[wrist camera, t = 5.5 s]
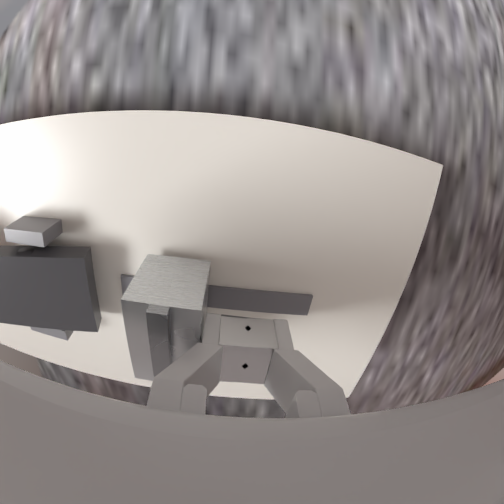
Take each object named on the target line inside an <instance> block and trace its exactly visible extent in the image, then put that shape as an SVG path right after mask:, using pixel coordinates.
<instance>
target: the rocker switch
mask: <svg viewBox="0 0 504 504" xmlns="http://www.w3.org/2000/svg"><path fill="white" fill-rule="evenodd" d="M101 319H102V317H101V312H100V307H99V301H98V296H97V290H96V284H95V277H94V270H93V263H92V255H91V247H83V246H45V247H38V246H3V245H0V323H6V324H13V325H21V326H29V327H38V328H48V329H59V330H71V331H85V332H98V331H99V327H100V323H101Z"/></svg>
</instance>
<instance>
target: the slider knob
mask: <svg viewBox="0 0 504 504" xmlns="http://www.w3.org/2000/svg"><path fill="white" fill-rule="evenodd" d="M210 264H211V261H208V260H199V259H190V258H181V257H172V256H163V255H154V254H148V255H147V256H146V258H145V259H144V261H143V263H142V264H141V266H140V267H139V269H138V271H137V272H136V274H135V276H134V277H133V279H132V281H131V282H130V284H129V286H128V288H127V289H126V291H125V293H124V294H123V296H122V298H121V306H122V313H123V319H124V325H125V331H126V337H127V342H128V348H129V353H130V358H131V363H132V367H133V372H134V376H135V378H138V379H144V380H149V381H153V379H154V377H155V376H156V375H158V374H159V373H160V372H162V371H163V370H164V369H165V368H167V367H168V366H169V365H170V364H172V363H173V362H174V361H175V360H177V359H178V358H179V357H181V356H182V355H183V354H184V353H186V352H187V351H188V350H189V349H191V348H192V347H193V346H194V345H195V344H197V343H202V338H203V331H204V324H205V317H206V313H207V306H208V291H209V277H210Z"/></svg>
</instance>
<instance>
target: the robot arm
mask: <svg viewBox="0 0 504 504" xmlns="http://www.w3.org/2000/svg"><path fill="white" fill-rule="evenodd" d="M220 381H222V382H241V383H253V384H264V386H265V387H266V388H267V390H268V391H269V392H270V394H271V395H272V396H273V398H274V399H275V400H276V401H277V403H278V404H279V405H280V407H281V408H282V409H283V410H284V412H285V413H286V416H285V418H246V417H228V416H216V415H206V398H207V397H208V396H209V394H210V393H211V392H212V391H213V390H214V388H215V387H216V386H217V385H218V384H219V382H220ZM0 504H504V379H502V380H500V381H497V382H494V383H492V384H489V385H486V386H483V387H480V388H477V389H474V390H471V391H467V392H464V393H461V394H457V395H454V396H450V397H446V398H442V399H438V400H434V401H430V402H425V403H421V404H416V405H411V406H406V407H401V408H395V409H389V410H383V411H376V412H368V413H360V414H351V413H350V410H349V407H348V404H347V401H346V397H345V394H344V391H343V388H341V387H340V386H339V385H338V384H337V383H336V382H334V381H333V380H332V379H331V378H330V377H328V376H327V375H326V374H325V373H324V372H323V371H321V370H320V369H319V368H318V367H317V366H316V365H315V364H313V363H312V362H311V361H310V360H309V359H308V358H307V357H305V356H304V355H303V354H302V353H301V352H300V351H299V350H294V347H293V342H292V338H291V333H290V329H289V324H288V321H287V320H286V319H261V318H249V317H240V316H232V315H223V314H221V315H220V314H214V313H206V317H205V324H204V331H203V338H202V343H197V344H195V345H194V346H193V347H192V348H191V349H189V350H188V351H187V352H186V353H184V354H183V355H182V356H181V357H179V358H178V359H177V360H175V361H174V362H173V363H172V364H170V365H169V366H168V367H167V368H165V369H164V370H163V371H162V372H160V373H159V374H158V375H156V376H155V377H154V379H153V382H152V386H151V390H150V394H149V398H148V402H147V406H144V405H139V404H134V403H129V402H124V401H120V400H116V399H112V398H108V397H104V396H100V395H96V394H92V393H89V392H85V391H82V390H78V389H75V388H72V387H69V386H66V385H63V384H60V383H57V382H54V381H51V380H48V379H45V378H43V377H40V376H37V375H35V374H32V373H30V372H27V371H25V370H22V369H20V368H17V367H15V366H13V365H10V364H8V363H6V362H4V361H2V360H0Z"/></svg>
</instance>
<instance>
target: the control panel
mask: <svg viewBox="0 0 504 504" xmlns="http://www.w3.org/2000/svg"><path fill="white" fill-rule="evenodd" d="M442 168H443V165H441V164H439V163H436V162H433V161H431V160H428V159H425V158H422V157H419V156H416V155H413V154H410V153H407V152H404V151H401V150H398V149H395V148H392V147H388V146H385V145H382V144H378V143H375V142H371V141H367V140H364V139H360V138H356V137H352V136H348V135H344V134H340V133H335V132H331V131H327V130H322V129H317V128H312V127H307V126H302V125H297V124H291V123H285V122H279V121H273V120H266V119H259V118H252V117H244V116H235V115H226V114H215V113H202V112H186V111H159V110H127V111H100V112H85V113H73V114H63V115H55V116H47V117H40V118H33V119H27V120H21V121H15V122H10V123H5V124H0V245H3V246H38V247H45V246H83V247H91V255H92V263H93V270H94V277H95V284H96V290H97V296H98V301H99V307H100V312H101V317H102V319H101V323H100V327H99V331H98V332H85V331H71V330H59V329H48V328H38V327H29V326H21V325H13V324H6V323H0V343H2V344H4V345H6V346H9V347H11V348H13V349H16V350H19V351H21V352H24V353H27V354H29V355H32V356H34V357H37V358H40V359H43V360H46V361H49V362H52V363H55V364H58V365H61V366H64V367H68V368H71V369H74V370H78V371H81V372H85V373H89V374H92V375H96V376H100V377H104V378H108V379H113V380H117V381H121V382H126V383H131V384H136V385H141V386H146V387H151V386H152V382H153V381H149V380H144V379H138V378H135V376H134V372H133V367H132V363H131V358H130V353H129V348H128V342H127V337H126V331H125V325H124V319H123V313H122V306H121V298H122V296H123V294H124V293H125V291H126V289H127V288H128V286H129V284H130V282H131V281H132V279H133V277H134V276H135V274H136V272H137V271H138V269H139V267H140V266H141V264H142V263H143V261H144V259H145V258H146V256H147V255H148V254H154V255H163V256H172V257H181V258H190V259H199V260H208V261H211V264H210V277H209V291H208V306H207V313H214V314H220V315H221V314H223V315H232V316H240V317H249V318H261V319H286V320H287V321H288V324H289V329H290V333H291V338H292V342H293V347H294V350H299V351H300V352H301V353H302V354H303V355H304V356H305V357H307V358H308V359H309V360H310V361H311V362H312V363H313V364H315V365H316V366H317V367H318V368H319V369H320V370H321V371H323V372H324V373H325V374H326V375H327V376H328V377H330V378H331V379H332V380H333V381H334V382H336V383H337V384H338V385H339V386H340V387H341V388H343V391H344V394H345V397H346V398H347V397H349V396H350V394H351V393H352V391H353V389H354V388H355V386H356V384H357V382H358V381H359V379H360V377H361V376H362V374H363V372H364V370H365V368H366V367H367V365H368V363H369V361H370V359H371V358H372V356H373V354H374V352H375V350H376V348H377V346H378V344H379V342H380V340H381V338H382V336H383V334H384V332H385V330H386V328H387V326H388V324H389V322H390V320H391V317H392V315H393V313H394V311H395V309H396V306H397V304H398V302H399V300H400V297H401V295H402V293H403V290H404V288H405V285H406V283H407V280H408V278H409V275H410V273H411V270H412V268H413V265H414V262H415V260H416V257H417V254H418V251H419V248H420V246H421V243H422V240H423V237H424V234H425V231H426V227H427V224H428V221H429V218H430V214H431V211H432V207H433V204H434V200H435V197H436V193H437V189H438V185H439V181H440V177H441V173H442ZM209 395H210V396H221V397H233V398H250V399H274V398H273V396H272V395H271V394H270V392H269V391H268V390H267V388H266V387H265V386H264V384H253V383H241V382H222V381H220V382H219V384H218V385H217V386H216V387H215V388H214V390H213V391H212V392H211V393H210V394H209Z"/></svg>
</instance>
